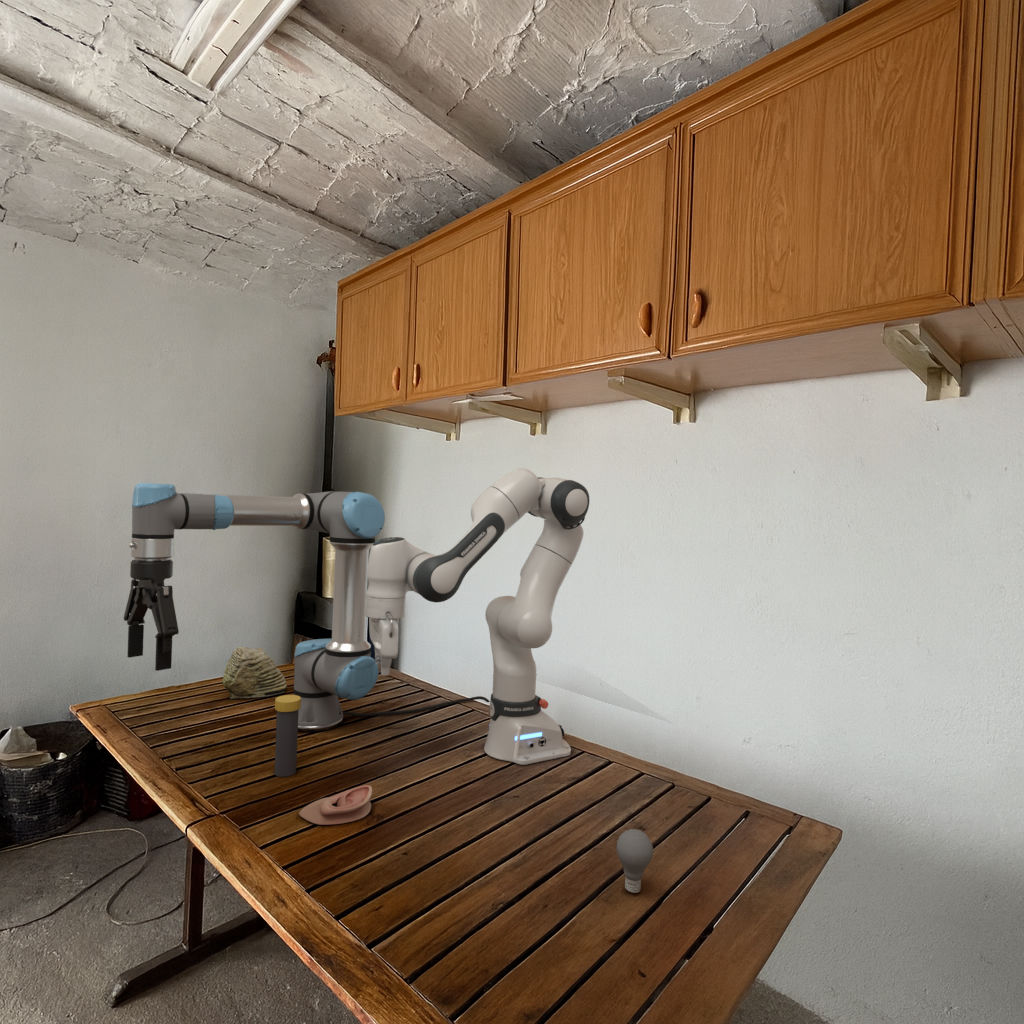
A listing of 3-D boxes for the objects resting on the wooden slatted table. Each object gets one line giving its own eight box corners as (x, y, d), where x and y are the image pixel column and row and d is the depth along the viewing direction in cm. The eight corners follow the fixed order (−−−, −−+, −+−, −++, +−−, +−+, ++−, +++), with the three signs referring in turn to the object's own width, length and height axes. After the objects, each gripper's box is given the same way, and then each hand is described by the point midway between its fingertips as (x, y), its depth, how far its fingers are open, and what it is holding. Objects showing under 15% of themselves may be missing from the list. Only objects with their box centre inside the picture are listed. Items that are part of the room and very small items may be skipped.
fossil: (218, 695, 195) (220, 647, 195) (278, 685, 208) (279, 640, 207) (228, 703, 189) (230, 653, 188) (289, 692, 201) (290, 645, 201)
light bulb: (610, 879, 108) (613, 822, 108) (644, 879, 109) (647, 822, 109) (619, 902, 102) (622, 840, 102) (655, 901, 103) (658, 840, 103)
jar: (295, 767, 148) (298, 696, 147) (296, 775, 143) (299, 702, 143) (274, 769, 146) (277, 698, 146) (274, 777, 142) (277, 704, 141)
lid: (300, 703, 148) (300, 693, 148) (301, 711, 143) (301, 701, 143) (274, 705, 146) (275, 695, 146) (274, 713, 141) (275, 703, 141)
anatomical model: (291, 800, 123) (320, 775, 134) (290, 820, 123) (320, 794, 134) (354, 810, 120) (379, 784, 132) (353, 830, 121) (378, 803, 132)
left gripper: (108, 554, 134) (104, 654, 134) (159, 565, 118) (155, 678, 119) (146, 552, 140) (143, 648, 140) (199, 563, 124) (195, 671, 124)
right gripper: (407, 617, 135) (403, 681, 135) (392, 601, 154) (389, 657, 155) (377, 617, 133) (373, 682, 133) (366, 601, 152) (362, 658, 153)
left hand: (148, 662), depth 129 cm, fingers open, 13 cm apart
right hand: (381, 668), depth 144 cm, fingers open, 8 cm apart
